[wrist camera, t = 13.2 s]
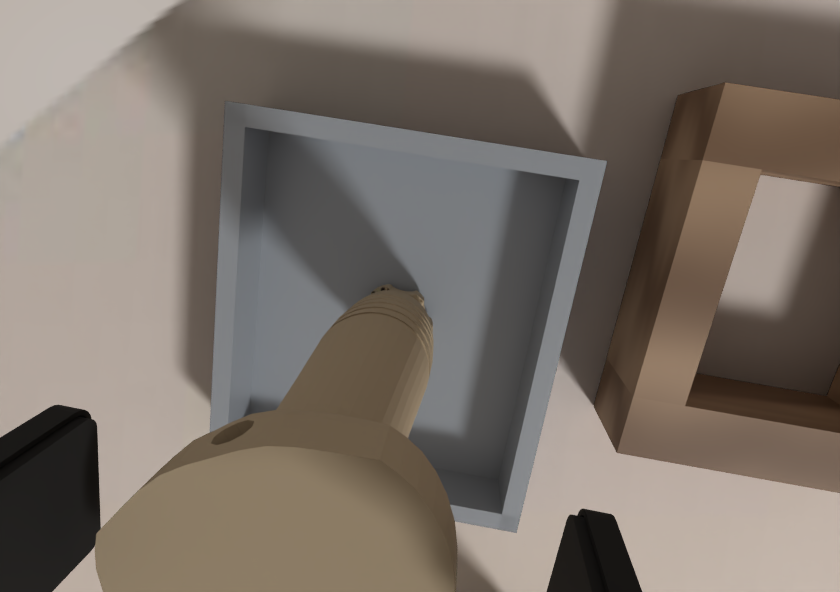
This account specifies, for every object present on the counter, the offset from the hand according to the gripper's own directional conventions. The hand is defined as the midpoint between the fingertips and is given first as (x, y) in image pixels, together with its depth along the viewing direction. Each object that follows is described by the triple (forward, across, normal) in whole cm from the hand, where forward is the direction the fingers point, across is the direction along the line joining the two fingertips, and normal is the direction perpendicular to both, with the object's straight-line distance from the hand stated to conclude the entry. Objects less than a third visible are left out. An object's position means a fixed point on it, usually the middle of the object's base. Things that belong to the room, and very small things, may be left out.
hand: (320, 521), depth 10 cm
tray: (+15, +1, +1) cm, 15 cm away
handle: (+14, 0, 0) cm, 14 cm away
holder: (+15, -15, -3) cm, 22 cm away
